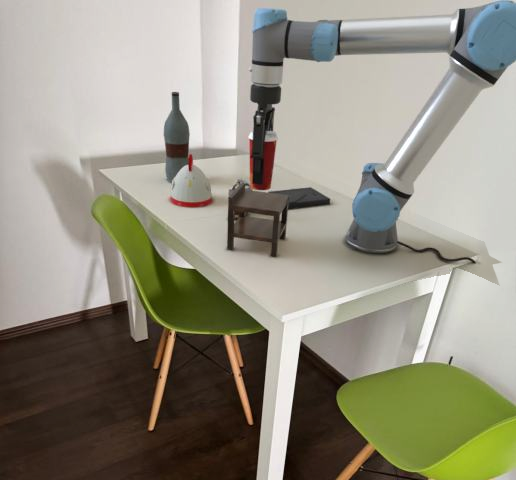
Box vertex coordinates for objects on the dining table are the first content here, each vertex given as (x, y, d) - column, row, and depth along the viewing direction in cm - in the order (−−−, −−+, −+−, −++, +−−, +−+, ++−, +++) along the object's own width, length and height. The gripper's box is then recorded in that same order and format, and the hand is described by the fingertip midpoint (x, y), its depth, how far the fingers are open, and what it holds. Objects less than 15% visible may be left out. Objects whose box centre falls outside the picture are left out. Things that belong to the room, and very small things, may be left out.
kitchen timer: (168, 206, 168) (166, 159, 159) (173, 192, 179) (171, 148, 171) (210, 207, 169) (211, 161, 160) (212, 194, 180) (212, 150, 171)
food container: (246, 223, 159) (248, 192, 153) (227, 221, 160) (228, 189, 154) (254, 210, 169) (256, 180, 163) (236, 208, 170) (237, 178, 164)
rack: (285, 238, 151) (289, 188, 143) (275, 257, 140) (280, 204, 131) (240, 231, 153) (241, 182, 145) (227, 249, 142) (228, 197, 134)
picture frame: (285, 209, 171) (329, 204, 178) (286, 203, 170) (330, 197, 177) (267, 196, 181) (310, 192, 188) (268, 190, 180) (310, 186, 187)
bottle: (179, 174, 197) (176, 89, 179) (195, 180, 192) (194, 93, 175) (160, 179, 191) (155, 91, 173) (177, 185, 186) (173, 95, 169)
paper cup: (280, 188, 137) (284, 133, 129) (260, 193, 133) (263, 137, 125) (260, 180, 142) (263, 127, 134) (239, 185, 137) (241, 130, 129)
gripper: (260, 78, 131) (255, 168, 145) (240, 88, 116) (237, 188, 129) (288, 80, 130) (281, 171, 143) (272, 91, 114) (266, 192, 128)
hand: (260, 179), depth 136 cm, fingers closed on paper cup, 7 cm apart
